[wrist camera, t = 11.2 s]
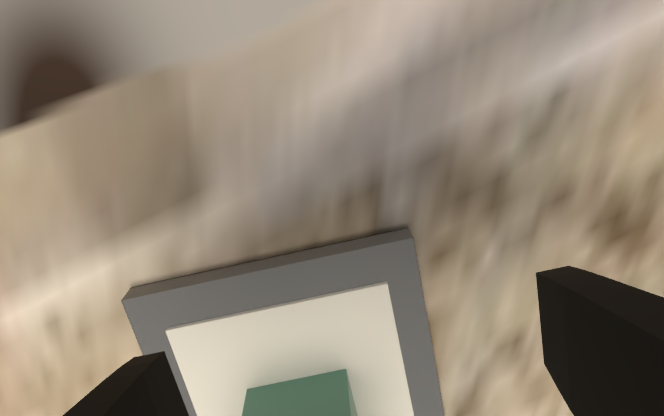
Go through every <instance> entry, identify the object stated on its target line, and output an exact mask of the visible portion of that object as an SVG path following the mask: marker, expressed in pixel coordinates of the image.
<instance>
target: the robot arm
mask: <svg viewBox="0 0 664 416" xmlns="http://www.w3.org/2000/svg"><path fill="white" fill-rule="evenodd" d="M536 278H537V289H538V300H539V311H540V322H541V333H542V344H543V355H544V364H545V366H546V368H547V369H548V371H549V373H550V375H551V377H552V379H553V380H554V382H555V384H556V386H557V388H558V390H559V391H560V393H561V395H562V396H563V398H564V400H565V402H566V403H567V405H568V407H569V408H570V410H571V412H572V413H573V415H574V416H664V298H663V297H660V296H657V295H654V294H652V293H649V292H646V291H643V290H640V289H637V288H635V287H632V286H629V285H626V284H623V283H621V282H618V281H615V280H612V279H609V278H606V277H603V276H600V275H597V274H595V273H592V272H588V271H585V270H582V269H579V268H575V267H571V266H566V267H561V268H556V269H552V270H547V271H542V272H537V273H536ZM63 416H189V414H188V412H187V409H186V406H185V404H184V401H183V398H182V396H181V393H180V391H179V388H178V385H177V383H176V380H175V378H174V375H173V372H172V370H171V367H170V365H169V362H168V359H167V357H166V354H165V351H162V352H158V353H153V354H148V355H143V356H139V357H134V358H133V359H131V360H130V361H128V362H127V363H125V364H124V365H123V366H121V367H120V368H119V369H117V370H116V371H115V372H114V373H112V374H111V375H110V376H109V377H108V378H106V379H105V380H104V381H103V382H102V383H100V384H99V385H98V386H97V387H96V388H94V389H93V390H92V391H91V392H90V393H89V394H87V395H86V396H85V397H84V398H83V399H82V400H80V401H79V402H78V403H77V404H76V405H75V406H73V407H72V408H71V409H70V410H69V411H68V412H66V413H65V414H64V415H63Z"/></svg>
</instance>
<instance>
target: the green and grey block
mask: <svg viewBox="0 0 664 416" xmlns="http://www.w3.org/2000/svg"><path fill="white" fill-rule="evenodd" d="M242 416H358V415H357V411H356V407H355V403H354V399H353V395H352V391H351V386H350V382H349V378H348V374H347V370H346V369H342V370H337V371H332V372H327V373H322V374H318V375H313V376H308V377H303V378H298V379H293V380H288V381H284V382H279V383H274V384H269V385H264V386H259V387H255V388H250V389H247V391H246V396H245V402H244V407H243V412H242Z"/></svg>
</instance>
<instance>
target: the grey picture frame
mask: <svg viewBox="0 0 664 416" xmlns="http://www.w3.org/2000/svg"><path fill="white" fill-rule="evenodd" d="M121 301H122V304H123V306H124V309H125V311H126V314H127V316H128V319H129V321H130V324H131V326H132V329H133V331H134V334H135V336H136V339H137V341H138V344H139V346H140V349H141V351H142V354H143V355H148V354H153V353H158V352H162V351H165V354H166V357H167V359H168V362H169V365H170V367H171V370H172V372H173V375H174V378H175V380H176V383H177V385H178V388H179V391H180V393H181V396H182V398H183V401H184V404H185V406H186V409H187V412H188V414H189V416H242V412H243V407H244V402H245V396H246V391H247V389H250V388H255V387H259V386H264V385H269V384H274V383H279V382H284V381H288V380H293V379H298V378H303V377H308V376H313V375H318V374H322V373H327V372H332V371H337V370H342V369H346V370H347V374H348V378H349V382H350V386H351V391H352V395H353V399H354V403H355V407H356V411H357V415H358V416H444V410H443V404H442V399H441V393H440V387H439V382H438V376H437V370H436V364H435V359H434V353H433V347H432V342H431V336H430V330H429V325H428V319H427V313H426V308H425V302H424V296H423V291H422V285H421V279H420V274H419V268H418V262H417V256H416V251H415V245H414V239H413V236H412V235H411V233H410V231H409V229H408V228H406V229H402V230H397V231H393V232H388V233H383V234H379V235H374V236H369V237H365V238H360V239H355V240H351V241H346V242H341V243H337V244H332V245H328V246H323V247H318V248H314V249H309V250H304V251H300V252H295V253H290V254H286V255H281V256H276V257H272V258H267V259H263V260H258V261H253V262H249V263H244V264H239V265H235V266H230V267H225V268H221V269H216V270H211V271H207V272H202V273H198V274H193V275H188V276H184V277H179V278H174V279H170V280H165V281H160V282H156V283H151V284H146V285H142V286H137V287H133V288H130V290H129V291H128V292H127V294H126V295H125V296H124V298H123V299H122V300H121Z"/></svg>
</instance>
